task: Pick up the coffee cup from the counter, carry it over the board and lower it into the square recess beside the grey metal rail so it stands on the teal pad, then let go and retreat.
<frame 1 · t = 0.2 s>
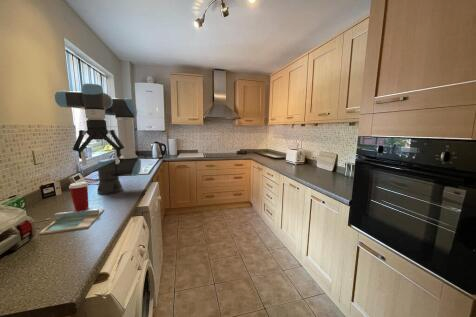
hand: (101, 164, 95), 28 cm above the countertop, fingers open, 13 cm apart
coffee cup: (81, 209, 111), on the countertop
board: (75, 221, 97), on the countertop
rail: (77, 214, 100), on the board, point 2 cm above the countertop
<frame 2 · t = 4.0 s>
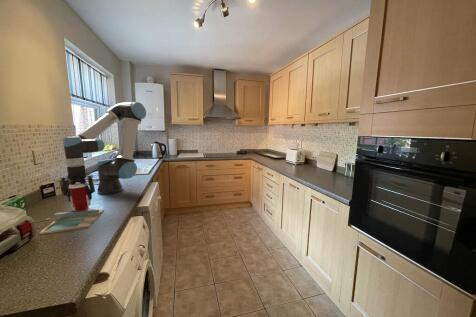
hand: (81, 206, 111), 2 cm above the countertop, fingers closed on coffee cup, 7 cm apart
coffee cup: (81, 209, 111), on the countertop, touching gripper
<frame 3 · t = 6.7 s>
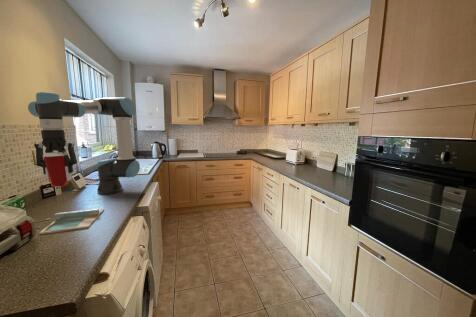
hand: (59, 180, 90), 22 cm above the countertop, fingers closed on coffee cup, 7 cm apart
coffee cup: (60, 185, 91), point 19 cm above the countertop, touching gripper
when the fingers open (3 cm above the countertop, at t = 9.5 s): coffee cup stays where it is, resting on board.
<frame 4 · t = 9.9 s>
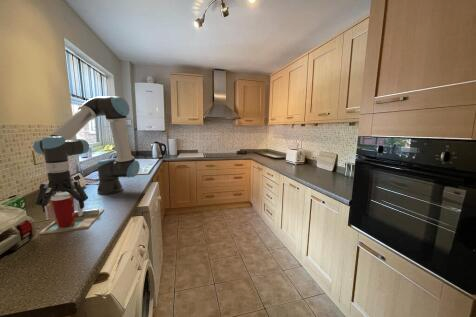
hand: (65, 216, 93), 4 cm above the countertop, fingers open, 11 cm apart
coffee cup: (66, 225, 94), resting on board
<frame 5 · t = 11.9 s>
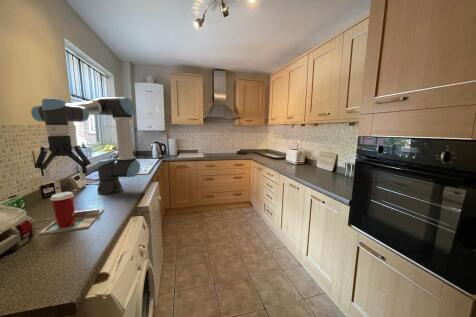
hand: (66, 181, 92), 21 cm above the countertop, fingers open, 13 cm apart
nothing on the countertop moved.
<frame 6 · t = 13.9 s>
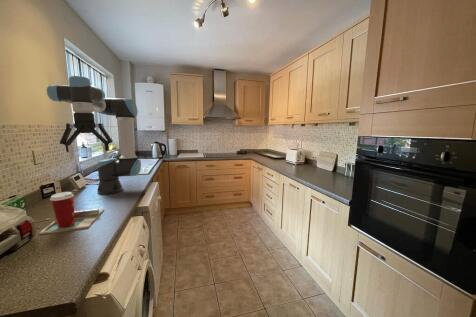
hand: (89, 158, 94), 31 cm above the countertop, fingers open, 13 cm apart
nothing on the countertop moved.
at the end: coffee cup 0.1 cm from the target spot on the board, point 0.0 cm above the board's base; coffee cup tilted 0°; the gripper is holding nothing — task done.
